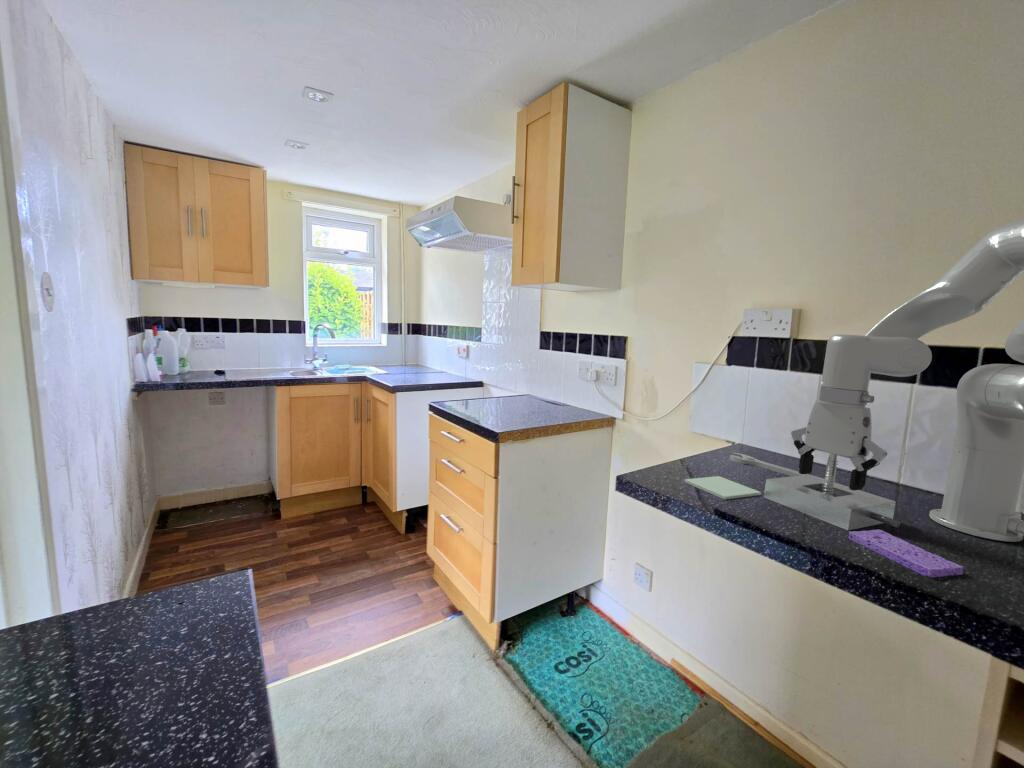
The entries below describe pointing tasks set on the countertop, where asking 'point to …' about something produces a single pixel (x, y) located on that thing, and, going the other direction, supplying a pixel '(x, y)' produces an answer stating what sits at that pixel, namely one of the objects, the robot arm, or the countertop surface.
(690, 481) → the rubber mat
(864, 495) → the steel block
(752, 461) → the adjustable wrench
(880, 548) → the sponges
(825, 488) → the screw
